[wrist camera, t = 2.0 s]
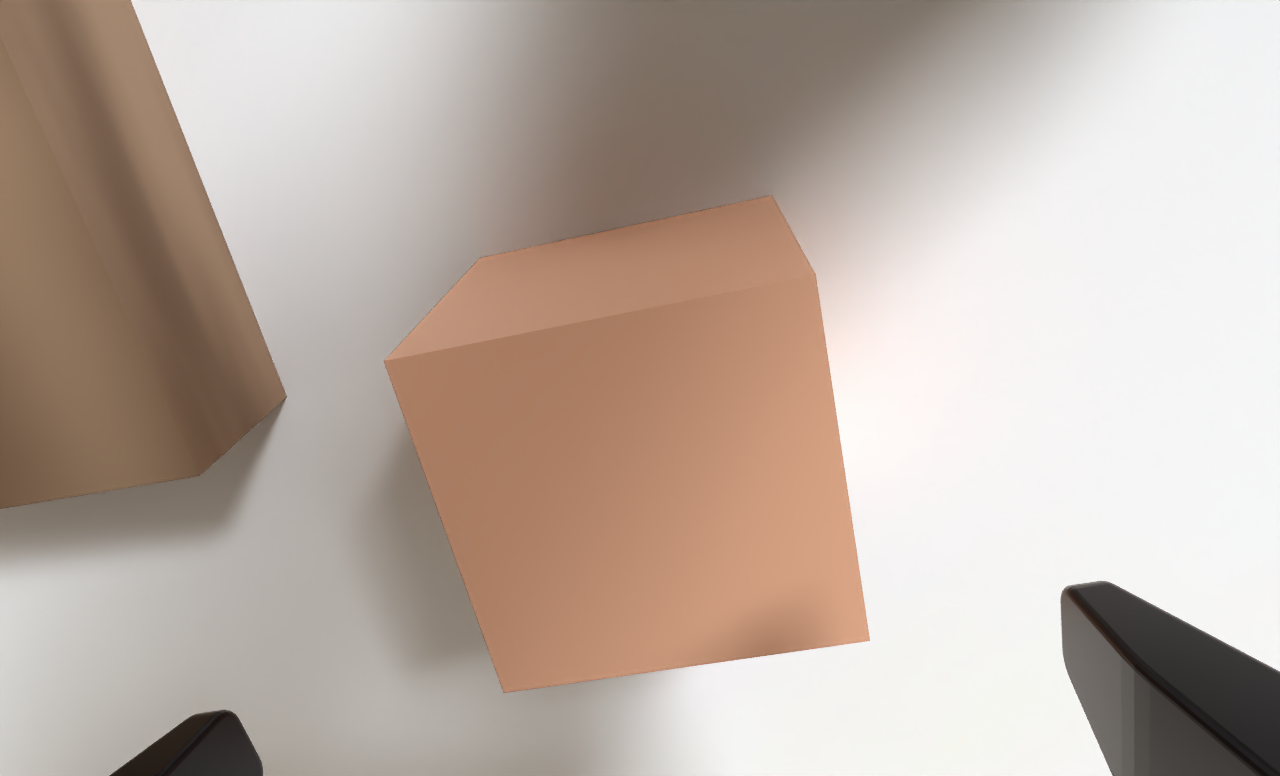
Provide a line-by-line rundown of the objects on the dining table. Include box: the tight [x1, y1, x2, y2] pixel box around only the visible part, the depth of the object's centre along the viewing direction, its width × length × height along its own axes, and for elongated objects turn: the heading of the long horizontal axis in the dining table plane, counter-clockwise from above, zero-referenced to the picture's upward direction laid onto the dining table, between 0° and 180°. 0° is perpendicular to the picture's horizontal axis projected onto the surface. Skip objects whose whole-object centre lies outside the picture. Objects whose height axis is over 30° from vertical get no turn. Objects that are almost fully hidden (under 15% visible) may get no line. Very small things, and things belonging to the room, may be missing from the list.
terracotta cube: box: [384, 195, 870, 693], centre depth 15 cm, size 6×6×6 cm
